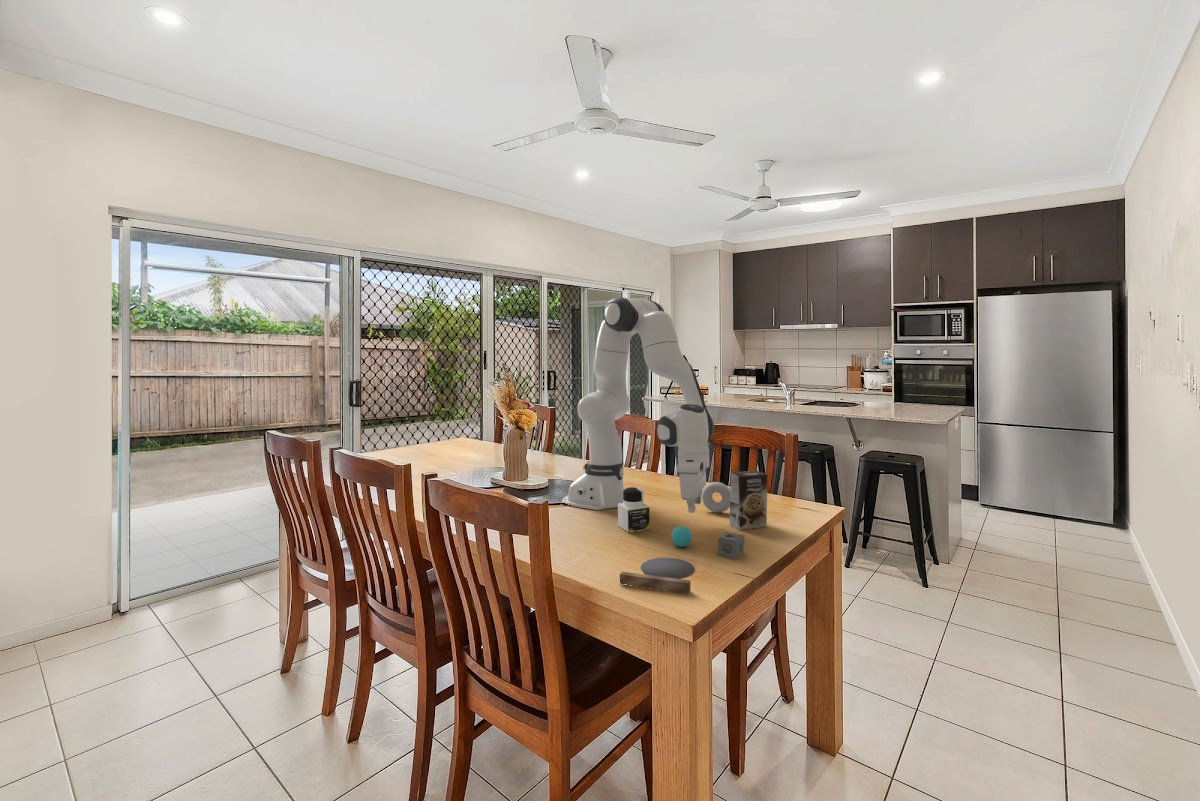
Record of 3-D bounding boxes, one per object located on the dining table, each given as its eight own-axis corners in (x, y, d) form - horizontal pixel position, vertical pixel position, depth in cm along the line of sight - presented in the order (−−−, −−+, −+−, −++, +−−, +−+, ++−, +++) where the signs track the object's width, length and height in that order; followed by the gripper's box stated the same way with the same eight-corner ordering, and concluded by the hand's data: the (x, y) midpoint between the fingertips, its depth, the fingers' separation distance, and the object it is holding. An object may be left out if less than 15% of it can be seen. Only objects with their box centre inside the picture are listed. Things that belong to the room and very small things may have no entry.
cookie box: (739, 530, 169) (740, 476, 167) (729, 524, 175) (729, 471, 173) (767, 527, 171) (768, 474, 170) (756, 521, 177) (756, 469, 176)
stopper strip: (619, 584, 133) (619, 574, 133) (622, 581, 134) (621, 571, 134) (688, 594, 127) (688, 583, 127) (690, 591, 129) (690, 580, 129)
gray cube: (725, 550, 154) (725, 531, 153) (744, 553, 151) (744, 535, 150) (718, 556, 150) (718, 537, 149) (736, 560, 147) (736, 540, 146)
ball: (669, 548, 155) (669, 528, 155) (674, 541, 161) (674, 522, 160) (689, 550, 153) (689, 530, 153) (693, 544, 159) (693, 524, 158)
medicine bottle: (628, 533, 169) (627, 492, 167) (617, 526, 175) (617, 487, 174) (649, 529, 171) (649, 489, 170) (638, 523, 178) (638, 484, 177)
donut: (733, 512, 187) (733, 482, 186) (731, 515, 184) (731, 484, 182) (703, 509, 191) (703, 479, 190) (700, 512, 188) (700, 481, 187)
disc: (634, 575, 138) (634, 574, 138) (649, 555, 150) (649, 555, 150) (688, 582, 134) (688, 581, 134) (698, 561, 146) (698, 560, 146)
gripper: (689, 454, 179) (691, 498, 180) (675, 467, 160) (676, 516, 161) (710, 454, 177) (711, 499, 178) (698, 468, 157) (699, 518, 159)
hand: (694, 507), depth 169 cm, fingers open, 8 cm apart
